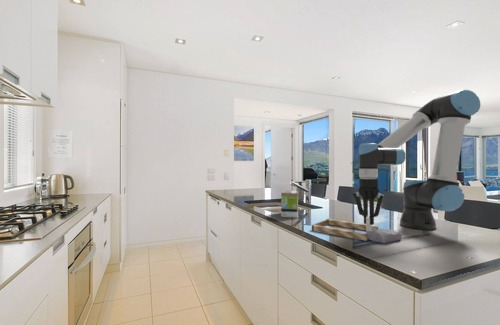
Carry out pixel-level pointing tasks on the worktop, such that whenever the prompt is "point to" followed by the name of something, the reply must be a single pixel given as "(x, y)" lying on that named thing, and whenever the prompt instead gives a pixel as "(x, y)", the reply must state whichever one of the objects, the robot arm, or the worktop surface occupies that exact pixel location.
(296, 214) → the tea box
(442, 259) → the worktop surface
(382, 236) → the stone block
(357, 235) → the channel
